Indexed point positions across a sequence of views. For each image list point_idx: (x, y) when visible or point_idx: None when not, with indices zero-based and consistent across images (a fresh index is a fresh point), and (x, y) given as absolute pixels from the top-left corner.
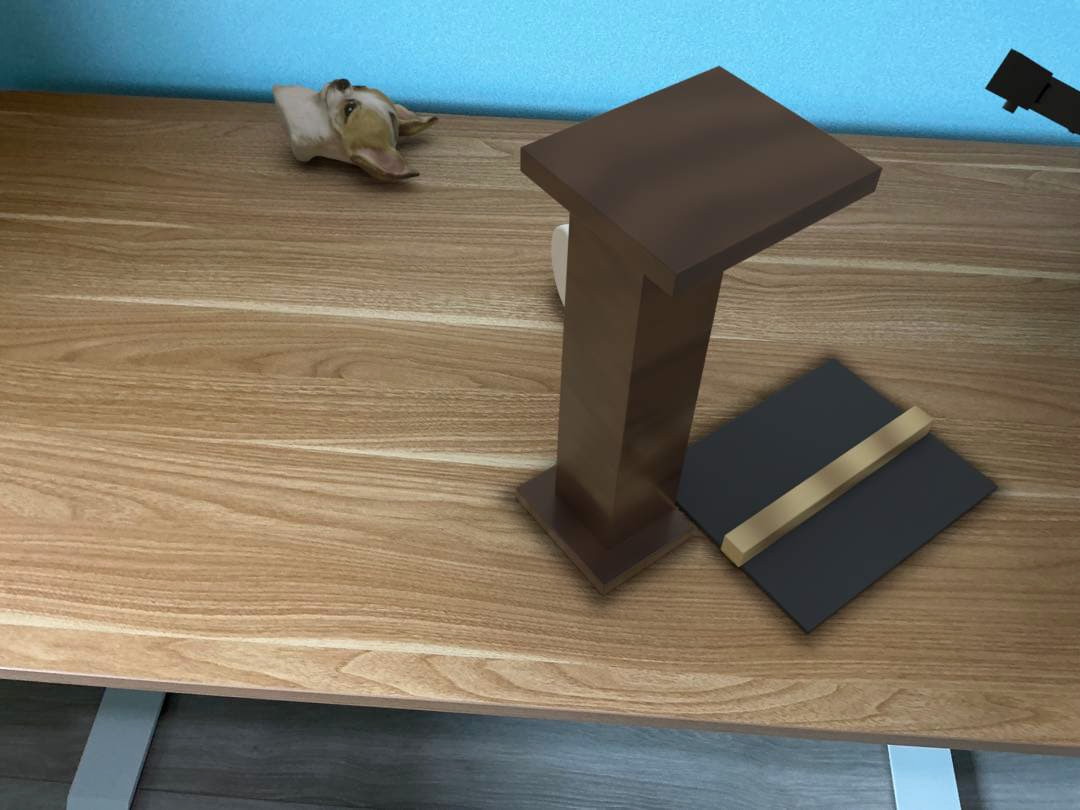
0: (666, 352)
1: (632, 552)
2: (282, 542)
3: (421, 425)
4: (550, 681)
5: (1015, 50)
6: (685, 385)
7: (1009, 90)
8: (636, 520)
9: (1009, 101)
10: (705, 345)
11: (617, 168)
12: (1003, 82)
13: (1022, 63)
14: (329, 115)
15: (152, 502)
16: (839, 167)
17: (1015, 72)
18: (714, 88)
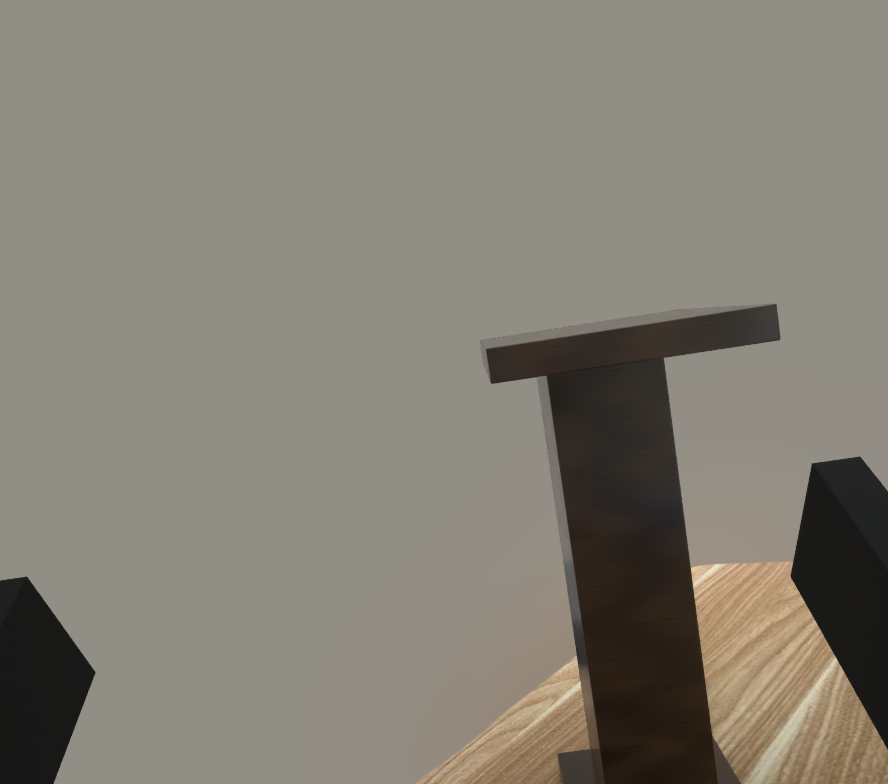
0: (558, 501)
1: (579, 781)
2: (728, 637)
3: (850, 716)
4: (512, 722)
5: (840, 459)
6: (573, 583)
7: (845, 640)
8: (595, 763)
9: (873, 723)
10: (569, 540)
11: (616, 320)
12: (798, 551)
13: (838, 529)
14: None
15: (797, 598)
16: (513, 342)
17: (828, 552)
18: (720, 310)
